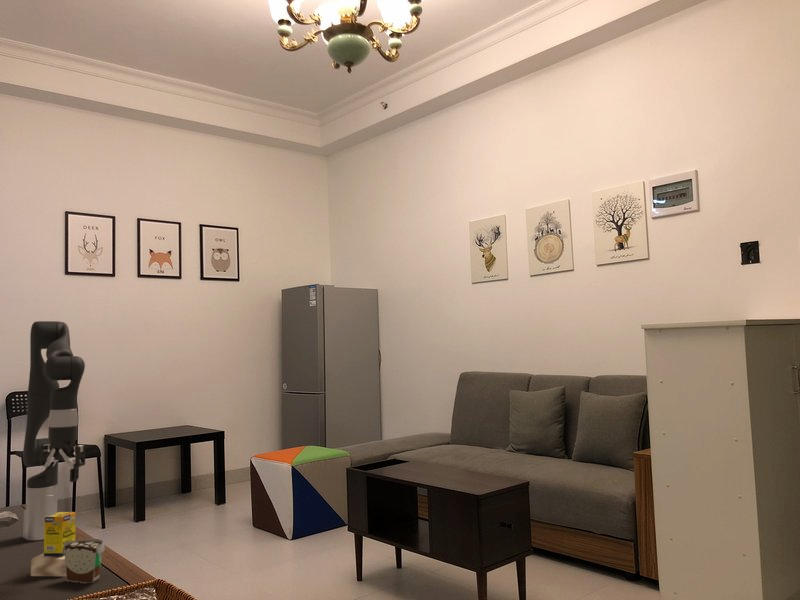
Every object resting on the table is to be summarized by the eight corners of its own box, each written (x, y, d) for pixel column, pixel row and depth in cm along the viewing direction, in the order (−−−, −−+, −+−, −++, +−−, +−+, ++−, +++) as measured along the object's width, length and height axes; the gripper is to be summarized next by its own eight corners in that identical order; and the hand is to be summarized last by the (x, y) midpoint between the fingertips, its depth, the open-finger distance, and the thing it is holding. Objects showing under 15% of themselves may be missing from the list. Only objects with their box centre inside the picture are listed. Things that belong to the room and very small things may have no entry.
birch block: (30, 577, 177) (31, 559, 177) (53, 565, 187) (54, 548, 187) (64, 577, 176) (65, 559, 176) (85, 565, 186) (86, 548, 186)
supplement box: (62, 556, 178) (62, 516, 179) (43, 556, 179) (43, 516, 180) (76, 550, 184) (76, 511, 185) (57, 550, 185) (57, 511, 186)
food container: (114, 577, 174) (115, 539, 175) (97, 584, 168) (98, 546, 169) (80, 573, 178) (80, 536, 179) (61, 580, 172) (62, 542, 173)
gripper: (92, 423, 186) (91, 479, 185) (54, 423, 190) (52, 477, 189) (72, 426, 179) (71, 484, 178) (33, 425, 183) (31, 482, 182)
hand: (61, 481), depth 183 cm, fingers open, 8 cm apart
